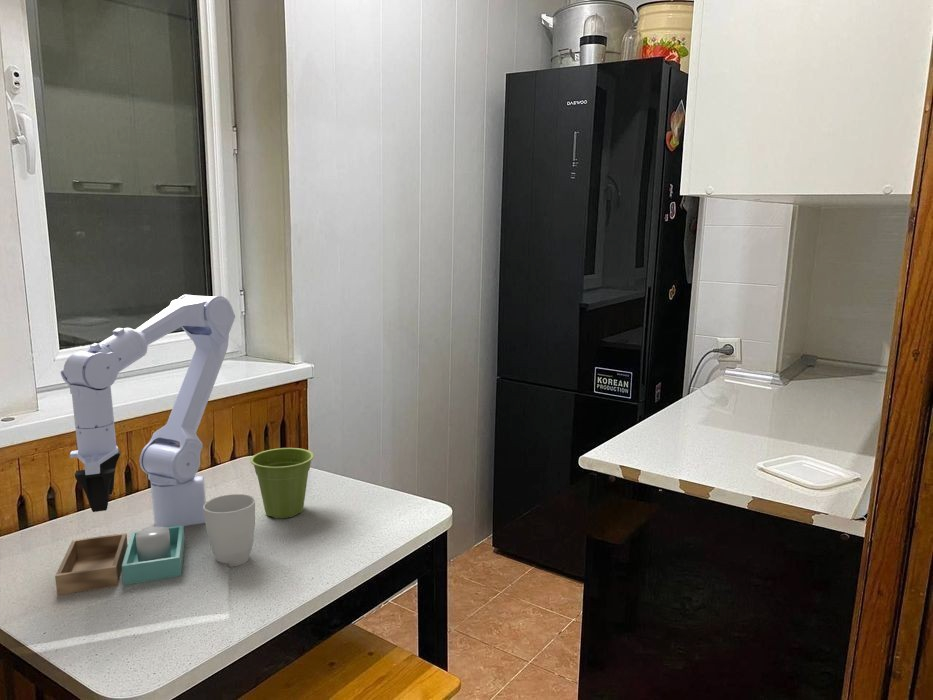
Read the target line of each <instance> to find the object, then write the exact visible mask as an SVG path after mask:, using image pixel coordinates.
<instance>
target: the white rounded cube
mask: <svg viewBox="0 0 933 700" xmlns="http://www.w3.org/2000/svg"><path fill="white" fill-rule="evenodd" d="M138 531H139V532H138V533H137V534H136V545H137V555H138V562H143V561H150V560H156V559H163V558H170V557H171V546H170V535H169V529H168V528H166V527H156V526H149V527H147V528H144V529H141V530H138Z"/></svg>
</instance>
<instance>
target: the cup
mask: <svg viewBox="0 0 933 700" xmlns="http://www.w3.org/2000/svg"><path fill="white" fill-rule="evenodd" d="M203 509H204V515H205V522H206V523H205V527H206V534H207V537H208V541H209V544H210V547H211V551H212V554H213V555H214V557H215V560H216V561H217V562H218V563H221V564H226V567H227V568H231V567H237V566H240V565H243V564H245V563H247V562H248V561H249V560H250V556H251V552H252V548H253V545H254V537H255V535H254V534H255V529H256V528H255V527H256V499H255V497H253V496H252V495H249V494H243V493H233V494H232V493H231V494H224V495H221V496H217V497H213V498H212V499H210V500H206V503H205V504H204V506H203Z"/></svg>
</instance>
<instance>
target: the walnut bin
mask: <svg viewBox="0 0 933 700" xmlns="http://www.w3.org/2000/svg"><path fill="white" fill-rule="evenodd" d="M127 534H128V533H127V532H124V533H123V532H122V533H115V534H108V535H100V536H93V537H92V536H91V537H86V538H78V539H72V540H71V543H70V545H69V546H68V549H67V550H66V553H65V554H64V557H63V559H62V561H61V562H60V565H59V567H58V569H57V571H56V574H55V576H54V578H55V587H56V595H57V596H61V595H66V594H67V595H68V594H74V593H79V592H87V591H93V590H98V589H106V588H112V587H117V586H119V582H120V579H121V576H122V564H123V560H124V557H125V553H126V550H127V546H128V543H129V542H128V535H127Z"/></svg>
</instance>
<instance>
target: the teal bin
mask: <svg viewBox="0 0 933 700" xmlns="http://www.w3.org/2000/svg"><path fill="white" fill-rule="evenodd" d="M184 527H185V526H183V525H181V526H174V527H166V528H168V529H169V535H170V546H171V557H170V558H163V559H156V560H150V561H143V562H138V555H137V545H136V534H137V533H138V532H139V531H140V530H138V531H137V530H136V531H131V534H130V537H129V540H128V542H127V543H128V546H127V550H126V553H125V557H124V560H123V564H122V573H121V575H122V582H123V583H122V584H123V585H124V586H125V585H130V584H131V585H132V584H136V583H143V582H145V583H146V582H150V581H156V580H163V579H170V578H176V577H181V576H182V569H183V562H184V561H183V558H184V553H185V552H184V550H185V542H186V541H185V539H186V538H185V530H184V529H185V528H184Z"/></svg>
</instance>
